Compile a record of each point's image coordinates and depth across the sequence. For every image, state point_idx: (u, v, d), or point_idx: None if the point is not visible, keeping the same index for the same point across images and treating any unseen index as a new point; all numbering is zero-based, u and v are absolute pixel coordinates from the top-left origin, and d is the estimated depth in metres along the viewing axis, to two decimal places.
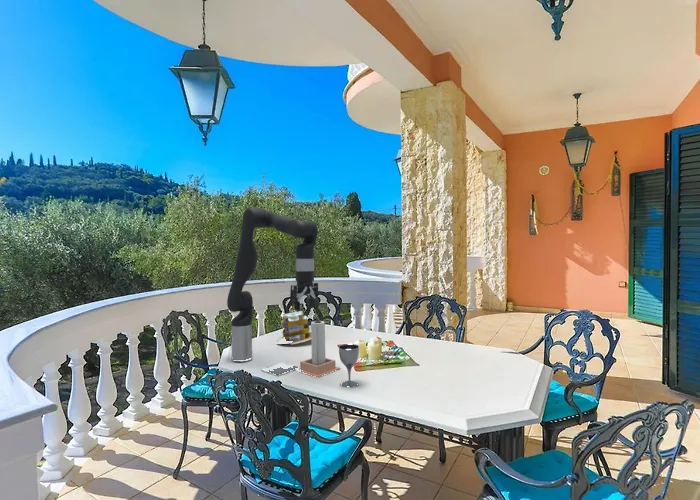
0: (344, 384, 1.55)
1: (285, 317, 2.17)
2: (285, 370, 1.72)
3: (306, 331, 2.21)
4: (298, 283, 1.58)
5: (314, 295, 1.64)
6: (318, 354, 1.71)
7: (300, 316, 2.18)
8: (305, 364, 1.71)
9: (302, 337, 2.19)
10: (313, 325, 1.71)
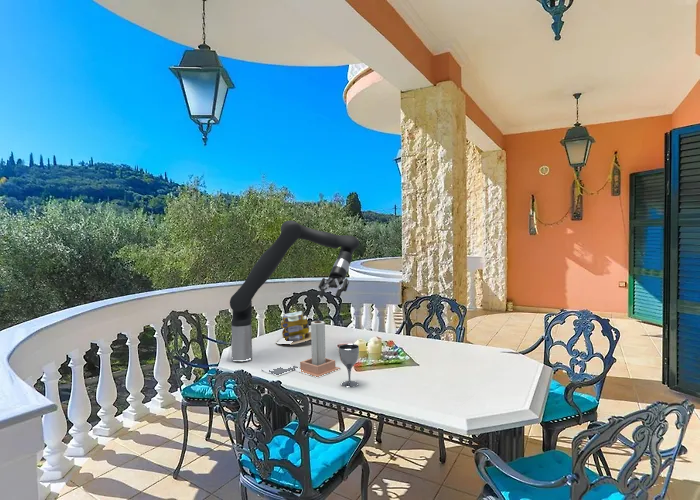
0: (344, 384, 1.55)
1: (285, 317, 2.17)
2: (285, 370, 1.72)
3: (306, 331, 2.21)
4: (343, 279, 1.87)
5: (325, 289, 1.89)
6: (318, 354, 1.71)
7: (300, 316, 2.18)
8: (305, 364, 1.71)
9: (302, 337, 2.19)
10: (313, 325, 1.71)
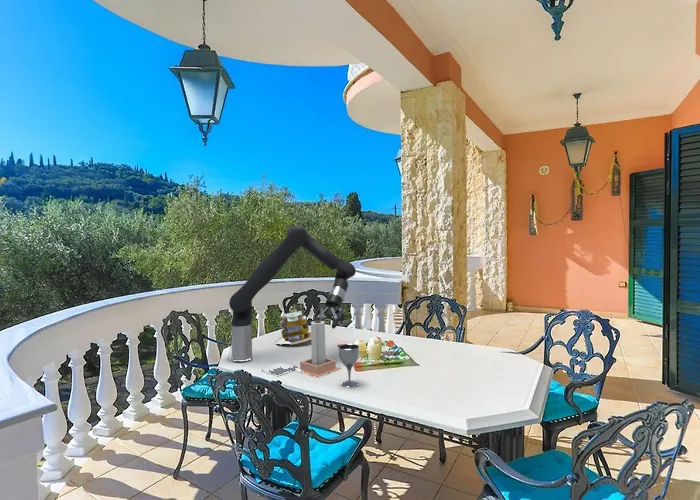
0: (344, 384, 1.55)
1: (284, 317, 2.17)
2: (285, 370, 1.72)
3: (305, 331, 2.21)
4: (339, 307, 1.85)
5: None
6: (318, 354, 1.71)
7: (299, 316, 2.17)
8: (305, 364, 1.71)
9: (301, 337, 2.18)
10: (313, 325, 1.71)
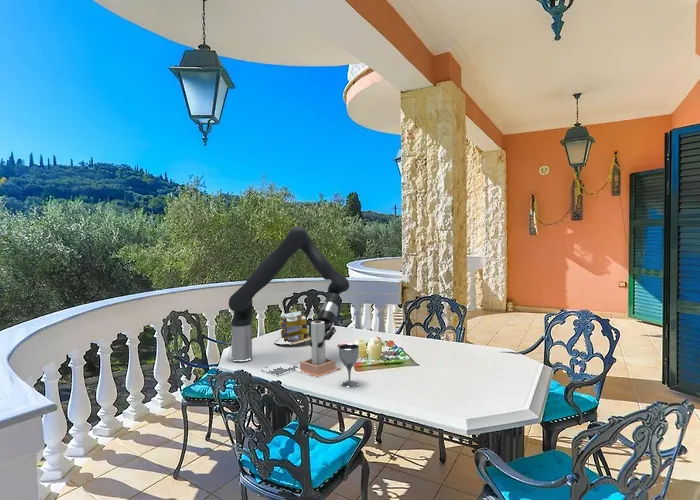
0: (344, 384, 1.55)
1: (283, 317, 2.16)
2: (285, 370, 1.72)
3: (304, 331, 2.21)
4: (331, 324, 1.77)
5: None
6: (318, 354, 1.71)
7: (298, 316, 2.17)
8: (305, 364, 1.71)
9: (300, 337, 2.18)
10: (313, 325, 1.71)
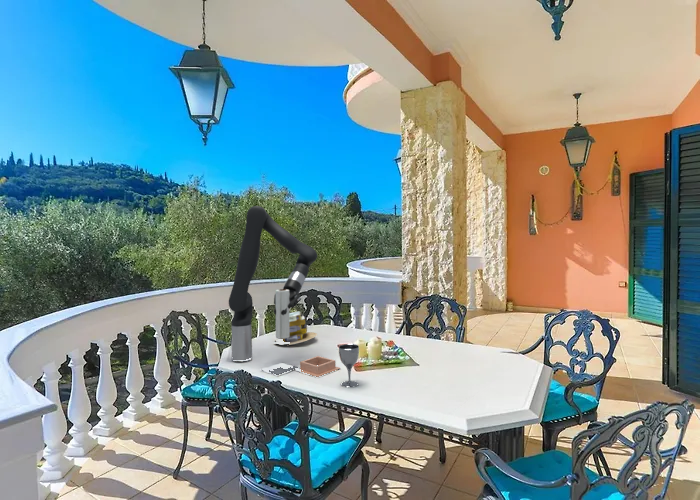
0: (344, 384, 1.55)
1: None
2: (285, 370, 1.72)
3: (304, 331, 2.20)
4: (296, 293, 1.79)
5: None
6: (281, 321, 1.72)
7: (298, 316, 2.17)
8: (305, 364, 1.71)
9: (300, 337, 2.18)
10: (277, 292, 1.72)
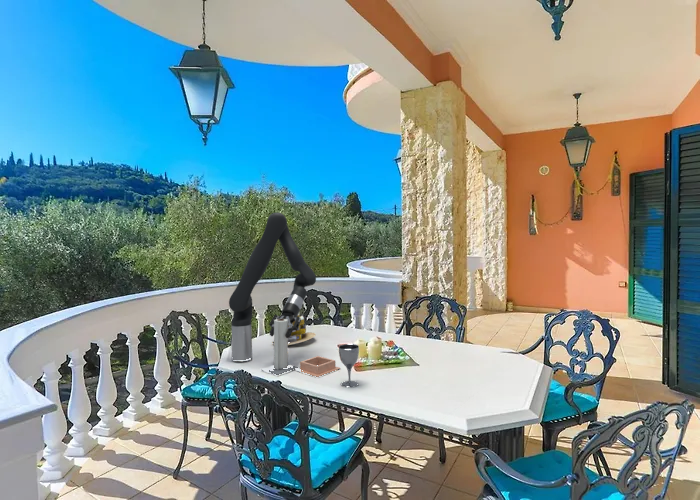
0: (344, 384, 1.55)
1: None
2: (285, 370, 1.72)
3: (302, 332, 2.20)
4: (295, 316, 1.80)
5: None
6: (280, 351, 1.73)
7: None
8: (305, 364, 1.71)
9: (298, 338, 2.18)
10: (276, 323, 1.73)
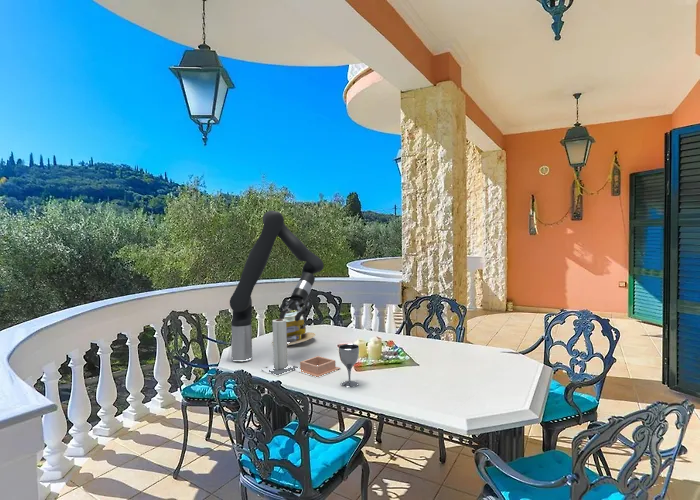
0: (344, 384, 1.55)
1: None
2: (285, 370, 1.72)
3: (302, 332, 2.20)
4: (304, 301, 1.87)
5: None
6: (279, 352, 1.73)
7: None
8: (305, 364, 1.71)
9: (298, 338, 2.17)
10: (274, 323, 1.73)
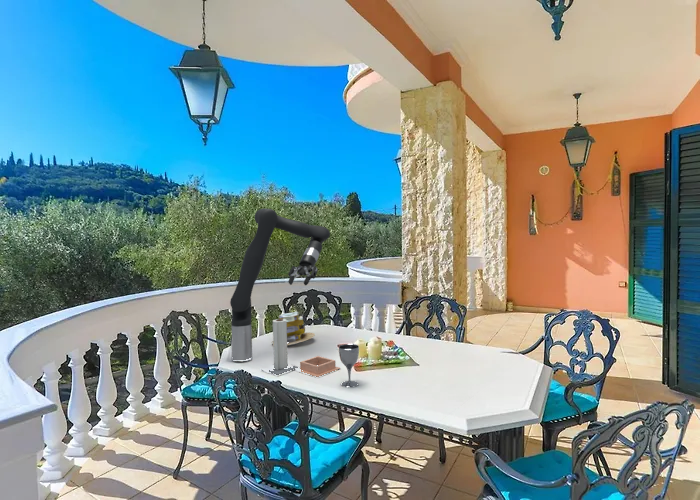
0: (344, 384, 1.55)
1: (280, 318, 2.15)
2: (285, 370, 1.72)
3: (302, 332, 2.20)
4: (312, 267, 1.93)
5: None
6: (279, 352, 1.73)
7: (296, 317, 2.16)
8: (305, 364, 1.71)
9: (298, 338, 2.17)
10: (274, 323, 1.73)
